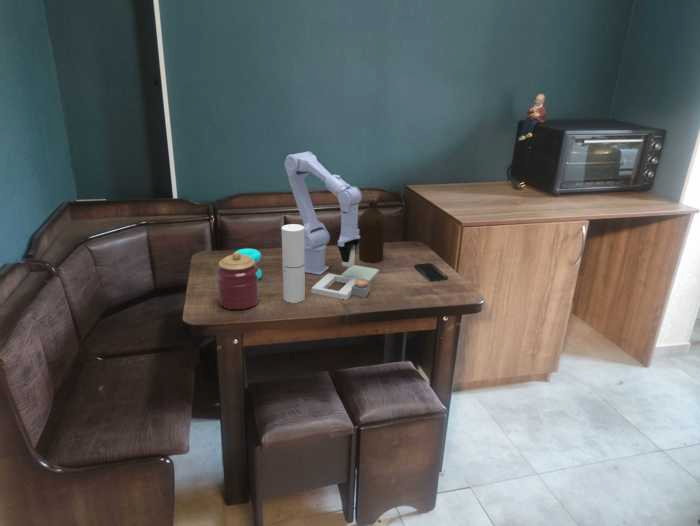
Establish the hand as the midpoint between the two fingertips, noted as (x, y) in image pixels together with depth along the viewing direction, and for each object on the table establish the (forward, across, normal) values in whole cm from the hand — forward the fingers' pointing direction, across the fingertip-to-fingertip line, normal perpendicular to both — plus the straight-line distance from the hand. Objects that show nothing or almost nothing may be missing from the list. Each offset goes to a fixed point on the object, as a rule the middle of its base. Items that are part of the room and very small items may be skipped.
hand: (348, 259), depth 188 cm
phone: (+9, +22, -25) cm, 34 cm away
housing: (+9, -7, -1) cm, 11 cm away
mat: (+9, +8, -2) cm, 12 cm away
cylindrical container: (+9, -20, +11) cm, 25 cm away
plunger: (+9, -7, -8) cm, 13 cm away
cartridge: (+2, 0, 0) cm, 2 cm away
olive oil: (+9, +25, +1) cm, 27 cm away
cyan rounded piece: (+9, -12, +34) cm, 37 cm away
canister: (+9, -30, +26) cm, 41 cm away
